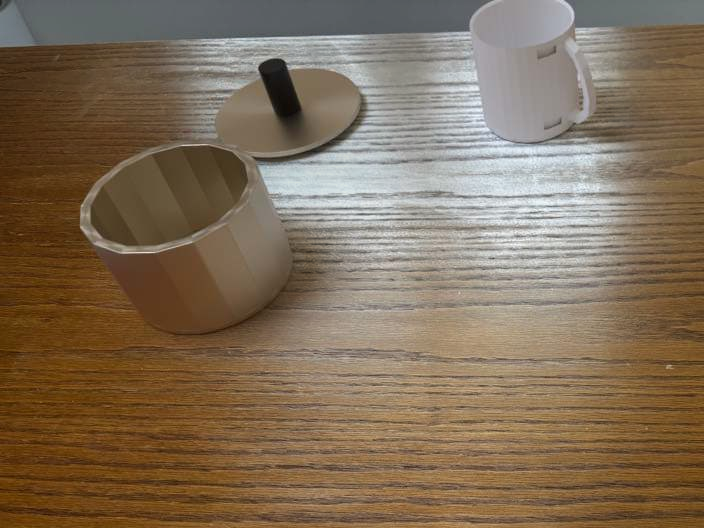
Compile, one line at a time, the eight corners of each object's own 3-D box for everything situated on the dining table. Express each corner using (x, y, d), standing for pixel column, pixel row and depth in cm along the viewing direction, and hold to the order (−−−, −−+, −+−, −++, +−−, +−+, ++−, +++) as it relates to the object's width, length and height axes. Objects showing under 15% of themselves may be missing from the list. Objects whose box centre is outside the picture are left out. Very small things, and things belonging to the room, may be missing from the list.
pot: (99, 308, 68) (41, 226, 62) (205, 208, 75) (163, 125, 68) (224, 354, 64) (176, 272, 57) (324, 243, 71) (292, 159, 64)
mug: (465, 116, 80) (448, 21, 73) (539, 77, 83) (530, -18, 76) (544, 171, 74) (534, 74, 67) (621, 127, 77) (619, 29, 70)
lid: (189, 145, 81) (163, 93, 77) (277, 68, 89) (259, 16, 84) (306, 176, 77) (286, 123, 72) (389, 92, 84) (376, 38, 80)
